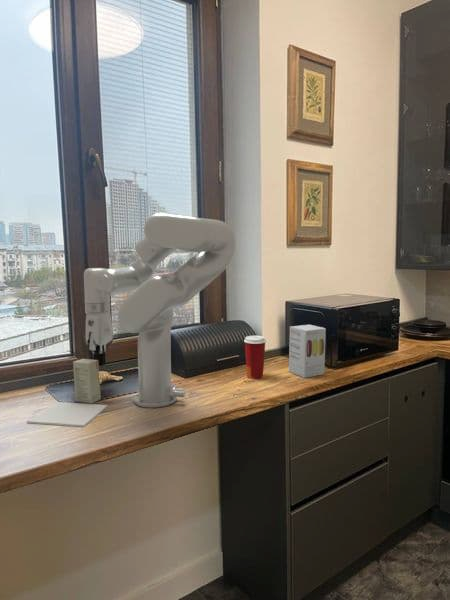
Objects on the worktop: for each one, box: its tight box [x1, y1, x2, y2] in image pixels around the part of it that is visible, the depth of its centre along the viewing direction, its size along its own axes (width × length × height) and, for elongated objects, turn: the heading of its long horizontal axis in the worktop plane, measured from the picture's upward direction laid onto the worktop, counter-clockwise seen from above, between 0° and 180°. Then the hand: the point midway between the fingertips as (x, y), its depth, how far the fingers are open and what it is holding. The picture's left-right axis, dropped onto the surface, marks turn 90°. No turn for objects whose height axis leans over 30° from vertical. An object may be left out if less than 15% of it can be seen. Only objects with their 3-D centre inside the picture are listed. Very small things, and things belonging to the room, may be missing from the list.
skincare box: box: [72, 358, 102, 404], centre depth 129 cm, size 6×4×12 cm
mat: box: [26, 401, 108, 428], centre depth 119 cm, size 16×14×1 cm
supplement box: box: [288, 324, 327, 379], centre depth 156 cm, size 10×9×17 cm
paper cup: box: [243, 335, 267, 380], centre depth 152 cm, size 8×8×14 cm
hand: (99, 364), depth 138 cm, fingers closed
